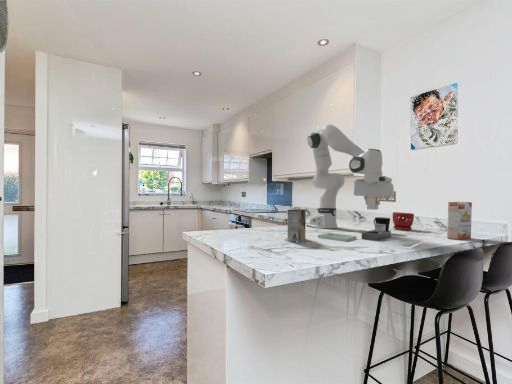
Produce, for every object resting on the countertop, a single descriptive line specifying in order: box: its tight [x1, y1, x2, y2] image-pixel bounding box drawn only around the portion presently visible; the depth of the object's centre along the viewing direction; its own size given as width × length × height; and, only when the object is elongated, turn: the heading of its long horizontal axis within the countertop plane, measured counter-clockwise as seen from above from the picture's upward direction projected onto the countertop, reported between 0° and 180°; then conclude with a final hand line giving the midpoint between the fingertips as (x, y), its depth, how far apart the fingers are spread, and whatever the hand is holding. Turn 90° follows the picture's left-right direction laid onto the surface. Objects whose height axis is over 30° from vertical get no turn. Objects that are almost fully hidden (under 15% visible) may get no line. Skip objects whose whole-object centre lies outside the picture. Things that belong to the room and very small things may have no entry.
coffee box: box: [287, 208, 307, 243], centre depth 141 cm, size 9×6×16 cm
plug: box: [366, 196, 379, 211], centre depth 146 cm, size 4×5×7 cm
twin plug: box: [374, 223, 386, 232], centre depth 153 cm, size 4×5×7 cm
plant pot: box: [392, 211, 415, 231], centre depth 191 cm, size 13×13×12 cm
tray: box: [317, 232, 357, 242], centre depth 147 cm, size 16×12×2 cm
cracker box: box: [446, 201, 473, 241], centre depth 155 cm, size 14×6×21 cm, turn 117°
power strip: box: [361, 229, 392, 242], centre depth 150 cm, size 8×20×4 cm, turn 135°
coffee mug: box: [373, 216, 391, 231], centre depth 171 cm, size 12×9×10 cm
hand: (372, 204), depth 146 cm, fingers closed on plug, 4 cm apart
